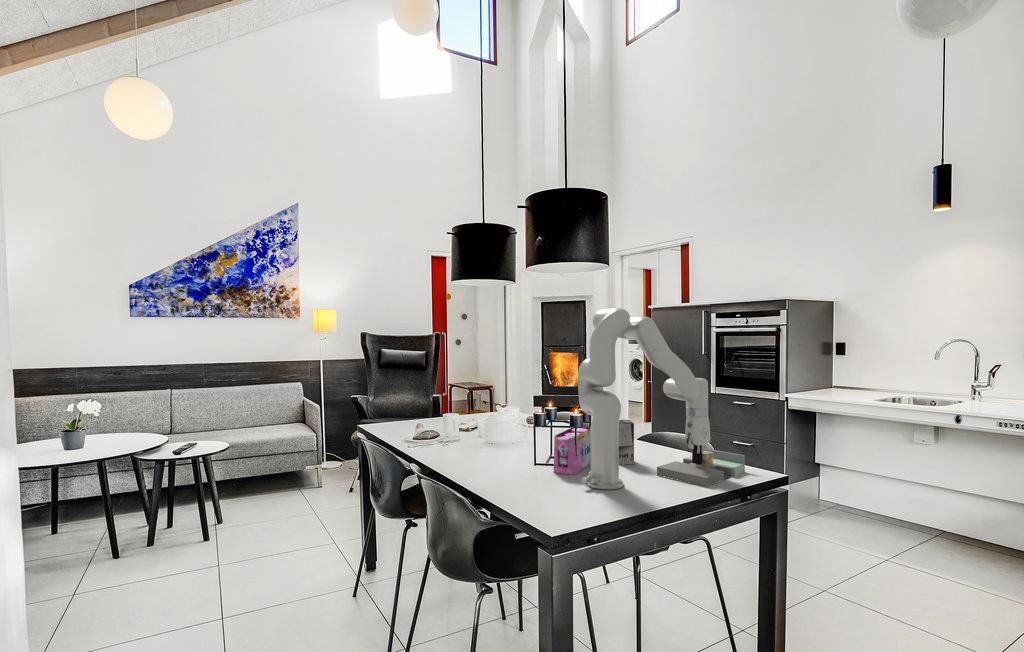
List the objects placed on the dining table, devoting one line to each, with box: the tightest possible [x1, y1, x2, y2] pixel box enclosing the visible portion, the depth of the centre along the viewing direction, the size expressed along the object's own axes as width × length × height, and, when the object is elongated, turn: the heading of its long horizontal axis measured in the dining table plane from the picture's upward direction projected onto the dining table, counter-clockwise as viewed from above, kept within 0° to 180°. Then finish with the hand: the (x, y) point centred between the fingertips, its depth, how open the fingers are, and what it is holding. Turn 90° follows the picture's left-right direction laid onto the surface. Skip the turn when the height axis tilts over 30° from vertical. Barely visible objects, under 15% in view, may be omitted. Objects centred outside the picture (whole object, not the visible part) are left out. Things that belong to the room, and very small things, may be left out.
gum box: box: [553, 426, 591, 476], centre depth 203 cm, size 24×8×14 cm, turn 153°
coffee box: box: [618, 419, 635, 465], centre depth 211 cm, size 9×6×16 cm
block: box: [696, 451, 713, 467], centre depth 194 cm, size 4×4×4 cm
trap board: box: [656, 447, 746, 487], centre depth 193 cm, size 28×19×6 cm
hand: (697, 463), depth 191 cm, fingers closed
